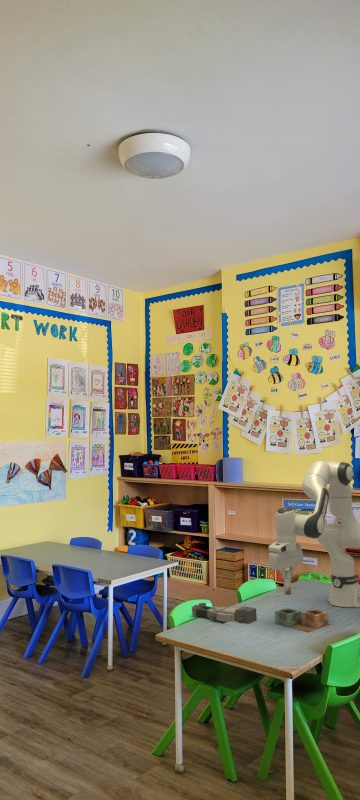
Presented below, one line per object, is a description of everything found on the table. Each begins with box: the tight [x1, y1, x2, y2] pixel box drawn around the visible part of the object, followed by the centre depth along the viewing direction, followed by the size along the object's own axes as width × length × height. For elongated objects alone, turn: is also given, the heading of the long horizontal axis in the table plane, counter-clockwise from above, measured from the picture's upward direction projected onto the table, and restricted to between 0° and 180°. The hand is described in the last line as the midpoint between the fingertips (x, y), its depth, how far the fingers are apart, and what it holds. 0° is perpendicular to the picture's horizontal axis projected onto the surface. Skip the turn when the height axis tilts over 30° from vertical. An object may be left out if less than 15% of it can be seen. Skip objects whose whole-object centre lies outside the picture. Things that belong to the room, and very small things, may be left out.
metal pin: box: [283, 569, 292, 596], centre depth 250 cm, size 3×3×10 cm
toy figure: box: [191, 602, 258, 625], centre depth 261 cm, size 11×7×30 cm
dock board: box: [274, 607, 331, 633], centre depth 248 cm, size 16×18×6 cm
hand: (287, 577), depth 251 cm, fingers closed on metal pin, 3 cm apart
